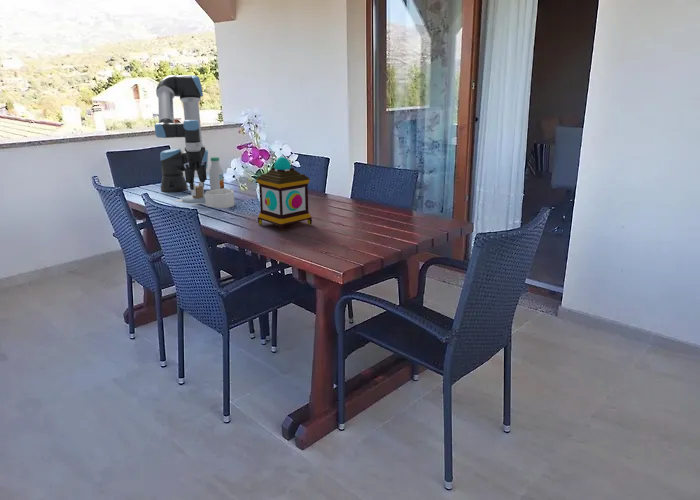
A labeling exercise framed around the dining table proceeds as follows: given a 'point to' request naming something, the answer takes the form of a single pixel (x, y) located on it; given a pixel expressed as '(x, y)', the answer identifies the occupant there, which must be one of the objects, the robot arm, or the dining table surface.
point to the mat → (189, 203)
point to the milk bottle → (216, 175)
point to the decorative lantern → (283, 195)
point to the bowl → (219, 198)
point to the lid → (195, 199)
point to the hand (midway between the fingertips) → (197, 194)
